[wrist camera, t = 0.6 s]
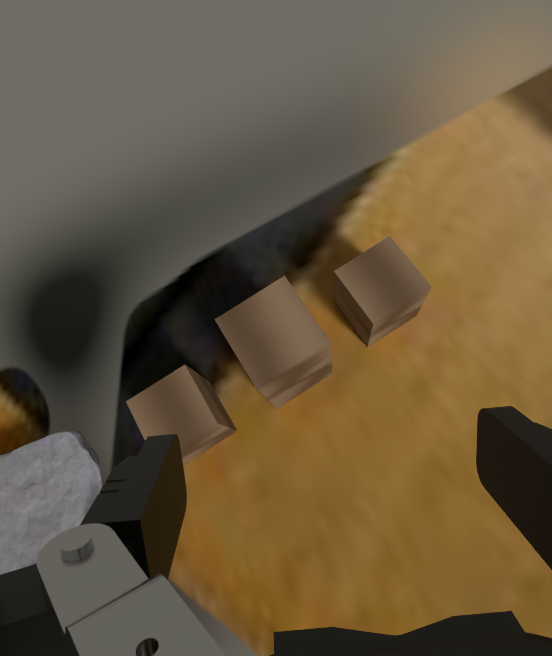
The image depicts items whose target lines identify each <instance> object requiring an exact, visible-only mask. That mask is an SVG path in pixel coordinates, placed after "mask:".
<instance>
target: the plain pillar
mask: <svg viewBox="0 0 552 656" xmlns="http://www.w3.org/2000/svg"><path fill="white" fill-rule="evenodd" d="M215 321H216V323H217V324H218V326H219V328H220V329H221V331H222V333H223V334H224V336H225V338H226V339H227V341H228V343H229V344H230V346H231V348H232V349H233V351H234V353H235V354H236V356H237V357H238V359H239V361H240V362H241V364H242V366H243V367H244V369H245V371H246V372H247V374H248V376H249V377H250V379H251V381H252V382H253V384H254V386H255V387H256V389H257V390H258V391H259V392H260V393H261V394H262V395H263V396H264V397H265V398H266V399H267V400H268V401H269V402H270V403H271V404H272V405H273V406H274V407H275V408H276V409H277V408H279V407H280V406H282V405H284V404H285V403H287V402H288V401H290V400H291V399H293V398H295V397H296V396H298V395H299V394H301V393H302V392H304V391H305V390H307V389H309V388H310V387H312V386H313V385H315V384H316V383H318V382H319V381H321V380H323V379H324V378H326V377H327V376H329V375H330V374H332V364H331V347H330V341H329V339H328V338H327V336H326V335H325V334H324V332H323V331H322V329H321V328H320V326H319V325H318V323H317V322H316V321H315V319H314V318H313V316H312V315H311V313H310V312H309V311H308V309H307V308H306V306H305V305H304V303H303V302H302V300H301V299H300V298H299V296H298V295H297V293H296V292H295V290H294V289H293V288H292V286H291V285H290V283H289V282H288V280H287V279H286V277H285V276H283V277H282V278H280V279H279V280H277V281H275V282H274V283H272V284H271V285H269V286H267V287H266V288H264V289H263V290H261V291H259V292H258V293H256V294H255V295H253V296H251V297H250V298H248V299H247V300H245V301H243V302H242V303H240V304H239V305H237V306H235V307H234V308H232V309H231V310H229V311H227V312H226V313H224V314H223V315H221V316H219V317H218V318H216V319H215Z"/></svg>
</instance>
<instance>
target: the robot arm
mask: <svg viewBox="0 0 552 656" xmlns="http://www.w3.org/2000/svg"><path fill="white" fill-rule="evenodd" d="M476 465H477V472H478V475H479V478H480V481H481V483H482V485H483V486H484V488H485V489H486V490H487V491H488V493H489V494H490V495H491V496H492V498H493V499H494V500H495V501H496V502H497V504H498V505H499V506H500V507H501V509H502V510H503V511H504V512H505V513H506V515H507V516H508V517H509V518H510V520H511V521H512V522H513V523H514V524H515V526H516V527H517V528H518V529H519V531H520V532H521V533H522V534H523V535H524V537H525V538H526V539H527V540H528V542H529V543H530V544H531V545H532V546H533V548H534V549H535V550H536V551H537V553H538V554H539V555H540V556H541V557H542V559H543V560H544V561H545V562H546V564H547V565H548V566H549V567H550V568H551V570H552V429H550V428H547V427H545V426H543V425H540V424H538V423H534V422H532V421H531V420H530V419H528V418H527V417H526V416H525V415H523V414H522V413H521V412H519V411H518V410H517V409H515V408H514V407H512V406H506V407H494V408H483V409H481V410H480V411H479V414H478V423H477V455H476ZM186 502H187V492H186V483H185V476H184V469H183V462H182V454H181V447H180V441H179V437H178V435H177V434H169V435H157V436H148V437H147V439H146V441H145V443H144V444H143V446H142V448H141V450H140V452H139V454H138V456H130V457H127V458H126V459H124V460H123V461H122V462H121V463H119V464H118V465H117V466H116V467H114V468H113V470H112V471H111V473H110V475H109V477H108V478H107V480H106V483H104V485H103V487H102V488H101V490H100V494H98V495H97V497H96V498H95V500H94V502H93V503H92V505H91V507H90V509H89V510H88V512H87V514H86V515H85V517H84V519H83V520H82V522H81V524H80V525H79V526H77V527H73V528H71V529H68V530H66V531H64V532H62V533H60V534H59V535H57V536H56V537H54V538H53V539H51V540H50V541H49V542H48V543H47V544H46V545H45V546H44V547H43V548H42V549H41V551H40V553H39V554H38V557H37V561H36V563H35V564H33V565H30V566H27V567H24V568H21V569H18V570H14V571H11V572H8V573H4V574H1V575H0V656H226V655H225V654H224V653H223V651H222V650H221V649H220V648H219V646H218V645H217V644H216V643H215V641H214V640H213V639H212V638H211V636H210V635H209V633H208V632H207V631H206V630H205V628H204V627H203V626H202V624H201V623H200V622H199V621H198V619H197V618H196V617H195V615H194V614H193V613H192V612H191V610H190V609H189V608H188V606H187V605H186V604H185V603H184V601H183V600H182V599H181V597H180V596H179V595H178V594H177V592H176V591H175V590H174V588H173V587H172V586H171V585H170V583H169V582H168V581H167V580H168V576H169V572H170V569H171V565H172V561H173V557H174V553H175V550H176V546H177V542H178V538H179V534H180V530H181V527H182V523H183V519H184V515H185V511H186ZM270 656H552V638H549V637H545V636H541V635H536V634H532V633H526V632H524V630H523V629H522V627H521V625H520V624H519V622H518V621H517V619H516V617H515V616H514V614H513V613H512V611H506V612H495V613H484V614H473V615H461V616H452V617H450V618H447V619H444V620H441V621H439V622H436V623H433V624H430V625H427V626H425V627H422V628H419V629H416V630H414V631H411V632H408V633H405V634H402V635H396V636H394V635H385V634H378V633H371V632H364V631H357V630H350V629H343V628H336V627H327V628H316V629H304V630H293V631H282V632H274V654H272V655H270Z"/></svg>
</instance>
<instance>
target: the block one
mask: <svg viewBox="0 0 552 656" xmlns="http://www.w3.org/2000/svg"><path fill="white" fill-rule="evenodd" d="M430 289H431V286H430V285H429V283H428V282H427V281H426V280H425V279H424V277H423V276H422V275H421V274H420V272H419V271H418V270H417V269H416V268H415V266H414V265H413V264H412V263H411V261H410V260H409V259H408V258H407V257H406V255H405V254H404V253H403V252H402V251H401V249H400V248H399V247H398V246H397V244H396V243H395V242H394V241H393V240H392V238H391V237H390V236H389V237H387V238H386V239H384V240H383V241H381V242H379V243H378V244H376V245H375V246H373V247H371V248H370V249H368V250H367V251H365V252H364V253H362V254H360V255H359V256H357V257H356V258H354V259H352V260H351V261H349V262H348V263H346V264H344V265H343V266H341V267H340V268H338V269H336V270H335V271H334V302H335V303H336V304H337V306H338V307H339V308H340V310H341V311H342V313H343V314H344V315H345V317H346V318H347V320H348V321H349V322H350V324H351V325H352V326H353V328H354V329H355V331H356V332H357V333H358V335H359V336H360V337H361V339H362V340H363V342H364V343H365V344H366V346H367V347H369V346H370V345H372V344H373V343H375V342H376V341H378V340H379V339H381V338H383V337H384V336H386V335H387V334H389V333H390V332H392V331H393V330H395V329H397V328H398V327H400V326H401V325H403V324H404V323H406V322H408V321H409V320H411V319H412V318H414V317H415V316H417V314H418V312H419V310H420V308H421V306H422V304H423V302H424V300H425V298H426V296H427V295H428V293H429V291H430Z"/></svg>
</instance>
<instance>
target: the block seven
mask: <svg viewBox="0 0 552 656" xmlns="http://www.w3.org/2000/svg"><path fill="white" fill-rule="evenodd" d="M126 402H127V405H128V407H129V409H130V411H131V413H132V415H133V417H134V419H135V421H136V423H137V425H138V427H139V429H140V431H141V433H142V435H143V437H144V439H145V441H146V439H147V437H148V436H157V435H169V434H177V435H178V437H179V441H180V447H181V454H182V462H183V464H186V463H188V462H189V461H191V460H192V459H194V458H195V457H197V456H199V455H200V454H202V453H203V452H205V451H206V450H208V449H210V448H211V447H213V446H214V445H216V444H217V443H219V442H220V441H222V440H224V439H225V438H227V437H228V436H230V435H231V434H233V433H234V432H236V431H237V430H236V428H235V426H234V424H233V423H232V421H231V419H230V417H229V416H228V414H227V412H226V410H225V409H224V407H223V405H222V403H221V401H220V400H219V398H218V396H217V394H216V393H215V391H214V389H213V387H212V386H211V384H210V382H209V381H208V380H207V379H205V378H204V377H202V376H201V375H199V374H198V373H196V372H195V371H194V370H192V369H191V368H189V367H188V366H186V365H183V366H182V367H180V368H179V369H177V370H175V371H174V372H172V373H171V374H169V375H168V376H166V377H164V378H163V379H161V380H160V381H158V382H156V383H155V384H153V385H152V386H150V387H148V388H147V389H145V390H144V391H142V392H140V393H139V394H137V395H136V396H134V397H133V398H131V399H129V400H128V401H126Z"/></svg>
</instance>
